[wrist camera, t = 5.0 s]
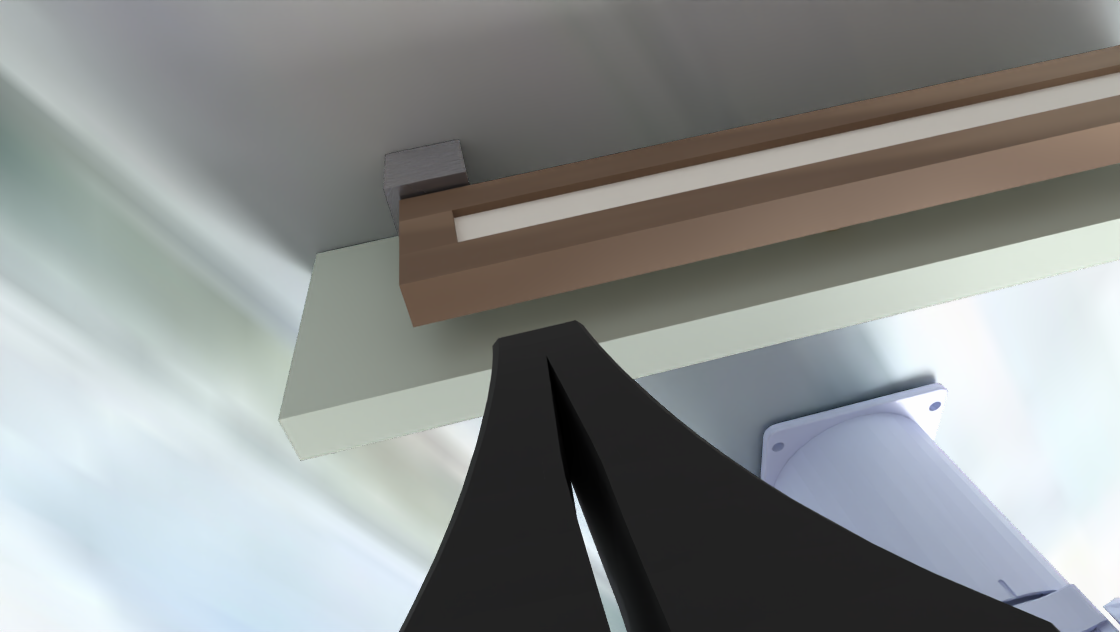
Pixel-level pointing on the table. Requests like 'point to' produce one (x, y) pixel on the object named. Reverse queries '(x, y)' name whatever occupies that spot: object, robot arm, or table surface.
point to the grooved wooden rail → (754, 185)
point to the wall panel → (662, 299)
